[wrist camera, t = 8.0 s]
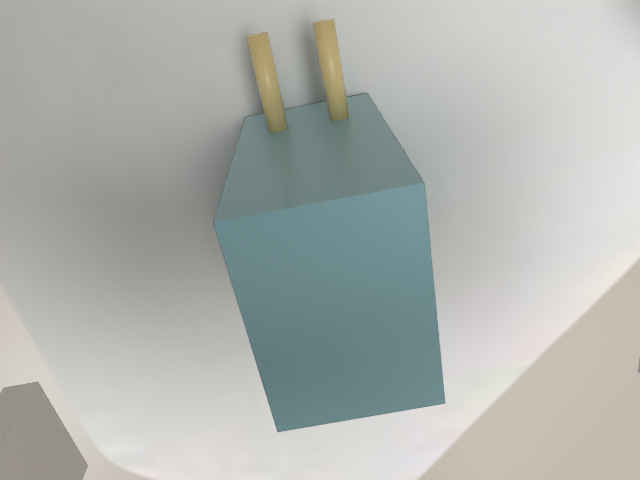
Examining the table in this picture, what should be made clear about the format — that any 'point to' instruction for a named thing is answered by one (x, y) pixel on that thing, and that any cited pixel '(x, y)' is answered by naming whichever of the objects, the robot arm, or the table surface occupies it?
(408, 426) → the table surface
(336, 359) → the charger
